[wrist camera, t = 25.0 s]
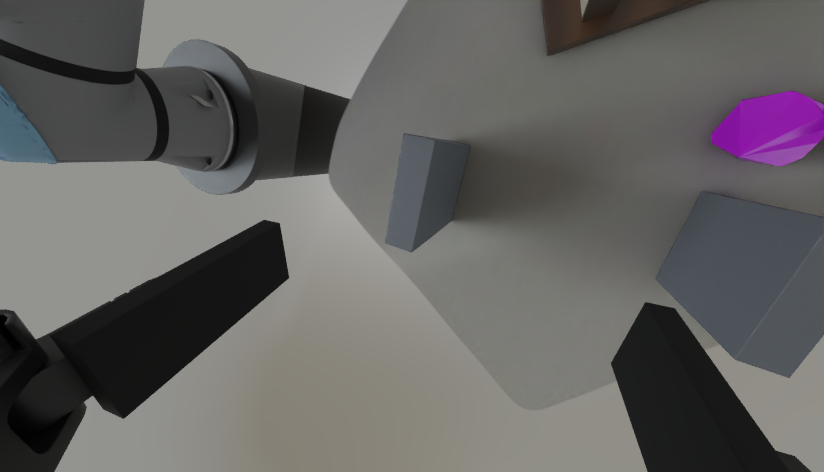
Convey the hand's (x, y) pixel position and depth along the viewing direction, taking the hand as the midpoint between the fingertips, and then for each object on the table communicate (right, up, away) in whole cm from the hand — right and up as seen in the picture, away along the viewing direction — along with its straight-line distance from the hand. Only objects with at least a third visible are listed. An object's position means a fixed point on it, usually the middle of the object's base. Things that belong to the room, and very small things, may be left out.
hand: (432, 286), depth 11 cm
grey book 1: (+4, +8, +24) cm, 25 cm away
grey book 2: (+26, +1, +17) cm, 31 cm away
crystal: (+28, +11, +14) cm, 32 cm away
